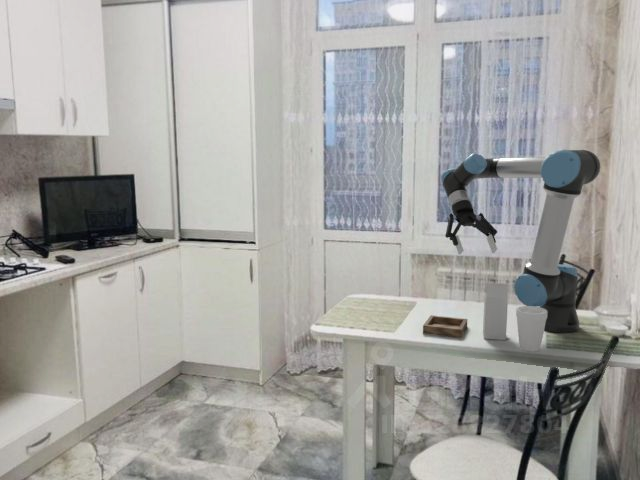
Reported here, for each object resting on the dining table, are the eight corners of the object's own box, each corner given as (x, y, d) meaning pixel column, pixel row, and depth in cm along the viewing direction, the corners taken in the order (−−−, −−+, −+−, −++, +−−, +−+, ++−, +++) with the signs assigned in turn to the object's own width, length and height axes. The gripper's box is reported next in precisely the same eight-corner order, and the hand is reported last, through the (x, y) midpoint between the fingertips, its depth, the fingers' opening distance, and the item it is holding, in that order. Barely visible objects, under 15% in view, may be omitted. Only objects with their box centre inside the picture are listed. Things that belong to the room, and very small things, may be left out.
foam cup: (513, 342, 197) (515, 305, 195) (542, 344, 195) (544, 306, 193) (516, 352, 188) (518, 313, 185) (547, 354, 186) (549, 314, 184)
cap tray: (467, 326, 214) (467, 319, 213) (461, 338, 202) (461, 329, 201) (430, 322, 219) (430, 315, 218) (422, 333, 207) (423, 325, 206)
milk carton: (505, 340, 199) (508, 286, 196) (484, 339, 200) (486, 285, 197) (503, 334, 206) (506, 281, 203) (482, 332, 207) (485, 280, 204)
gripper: (485, 210, 229) (503, 256, 218) (427, 211, 223) (442, 258, 211) (494, 198, 223) (513, 245, 212) (434, 199, 217) (450, 247, 205)
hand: (478, 251), depth 212 cm, fingers open, 13 cm apart
